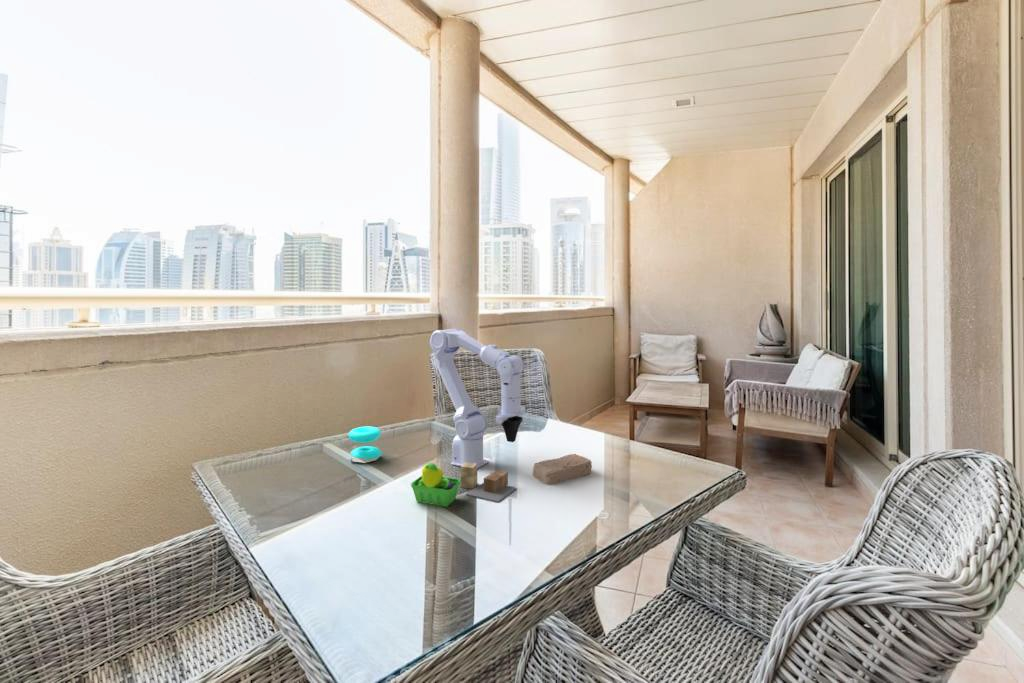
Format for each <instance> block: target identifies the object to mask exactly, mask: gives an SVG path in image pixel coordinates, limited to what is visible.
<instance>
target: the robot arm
mask: <svg viewBox="0 0 1024 683" xmlns="http://www.w3.org/2000/svg"><path fill="white" fill-rule="evenodd" d="M429 345H430V347H431V350H432V353H433V362H434V364H435V365H436V368H437V370H438V372H439V375H440V377H441V379H442V382H443V384H444V386H445V388H446V390H447V393H448V395H449V398H450V400H451V402H452V404H453V407H454V409H455V411H456V412H455V413H454V416H453V417H452V419H453V422H454V429H455V433H456V435H455V436H454V438H453V440H452V444H451V448H452V451H451V452H452V453H451V454H452V462H450V465H453V466H458V467H461V466H462V465H463V464H464V463H465V462H466V463H477V469H479V468H481V467H482V466H484V465H486V464H487V463H489V462H490V460H489V459H484V435H485V431H486V430H487V429H488V425H489V422H488V418H487V416H485V414H484V413H483V412H482V411H481V408H479V407H478V406H476V405H475V404H473V402H472V400H471V399H470V396H469V393H468V392H467V388H466V386H465V385H464V382H463V381H462V377H461V376H460V373H459V371H458V368H457V366H456V364H455V362H454V357H455V356H456V354H457V353H458V351H459V350H460V349H461V348H463V349H465V350H466V351H469V352H471V353H474V354H475V355H478V356H479V357H480V360H481V361H482V362H483V363H485V364H486V365H489V366H490V367H491V368H494V369H495V370H497V372H498V374H499V376H500V381H501V382H500V384H501V385H500V386H501V390H500V391H501V398H500V399H501V410H500V412H499V413H498V414H497V415H495V423H497V424H501V426H502V429H503V430H504V434H505V438H506V441H507V442H510V443H514V442H516V439H517V436H518V431H519V428H520V425H521V423H522V421H523V417H522V416H524V415H525V413H526V406H522V405H521V404H522V402H521V399H522V398H521V396H522V394H521V393H522V392H521V390H522V389H521V384H522V383H521V382H522V379H521V378H522V377H521V376H522V375H521V374H522V373H523V371H524V370H525V362H524V360H523V358H522V357H520V355H518V354H513V355H511V354H510V353H511V352H508V351H505V350H502V349H500V348H498V345H496V344H495V343H494V344H488V345H485V344H483V343H481V342H480V341H478V340H477V339H475V338H473V337H472V336H470V335H468V333H466V332H465V331H464V330H461V329H460V328H457V327H456V328H455V327H454V328H448V329H437V330H434V331H433V332H432V334H431V336H430V340H429Z"/></svg>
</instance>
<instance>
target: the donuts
mask: <svg viewBox="0 0 1024 683" xmlns="http://www.w3.org/2000/svg"><path fill="white" fill-rule="evenodd" d="M381 434H382V433H381V430H380V428H378V427H375V426H366V425H365V426H359V427H356V428H355V427H354V428H352V429H351V430H350V431H349V432H348V438H349V440H351V441H352V442H354V443H357V444H359V443H360V444H366V443H371V442H374V441H376V440H378V439H379V438H380V436H381ZM350 454H351V455H352V456H354V457H357V458H364V459H372V458H377V457H379V456H382V451H381V450H380V449H379V448H378V447H376V446H373V445H372V446H371V445H370V446H369V445H367V446H364V445H363V446H359V447H356V448H354V449H353V450H352V451H351V452H350V453H349V455H350Z"/></svg>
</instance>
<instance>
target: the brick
mask: <svg viewBox="0 0 1024 683" xmlns="http://www.w3.org/2000/svg"><path fill="white" fill-rule="evenodd" d="M592 466H593V465H592V461H591V459H589V458H587V457H586V456H583V455H579V454H576V453H572V454H571V453H570V454H567V455H563V456H561V457H558V458H553V459H546V460H542V461H539V462H535V463H534V464H533V468H532V477H533V478H534V479H536V480H539V481H540V483H542V484H544V485H546V486H547V485H553V484H557V483H560V482H565V481H569V480H573V479H577V478H581V477H585V476H587V475H590V474H591V473H592Z"/></svg>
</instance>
